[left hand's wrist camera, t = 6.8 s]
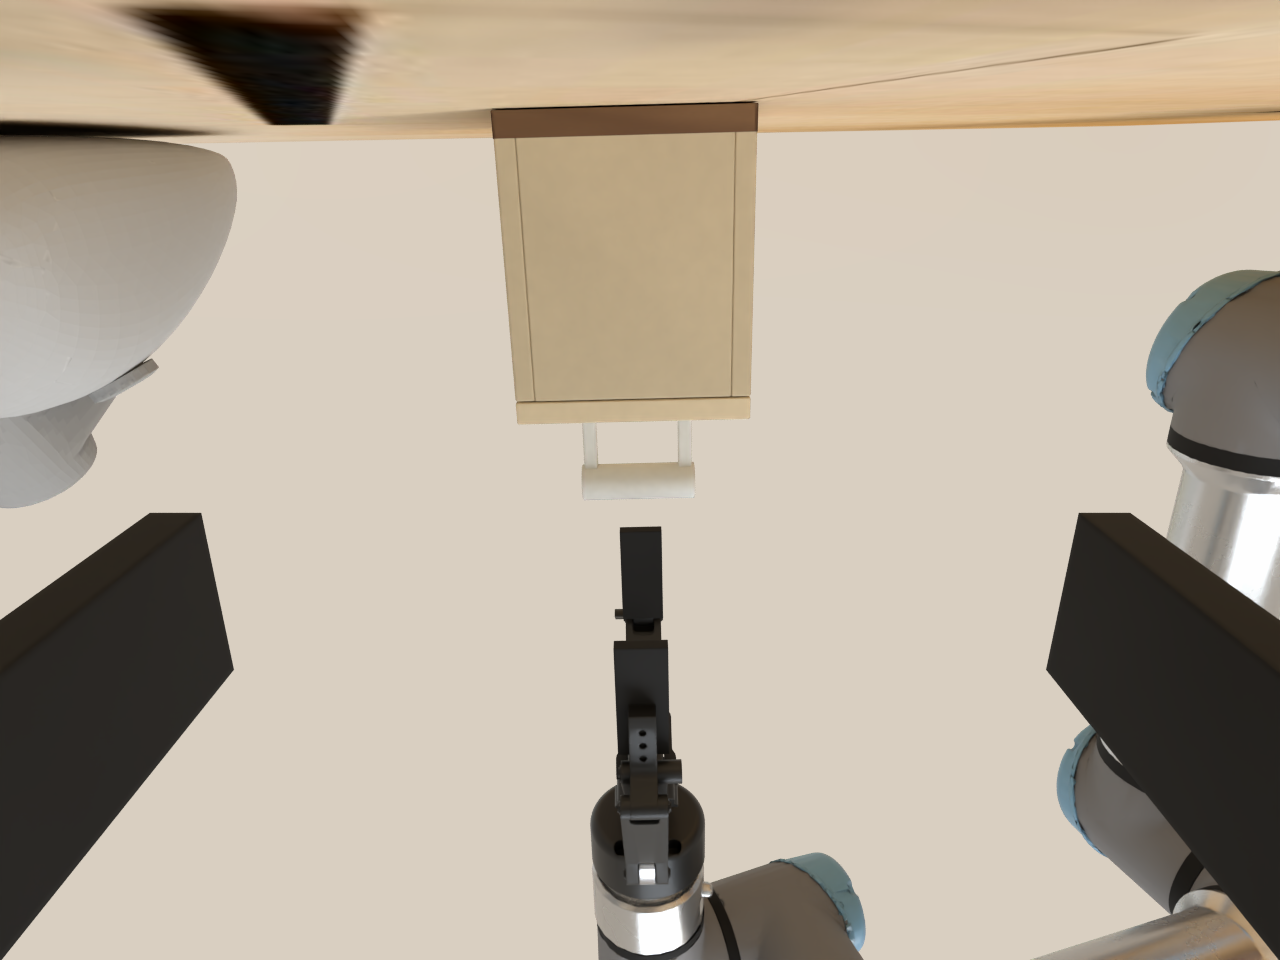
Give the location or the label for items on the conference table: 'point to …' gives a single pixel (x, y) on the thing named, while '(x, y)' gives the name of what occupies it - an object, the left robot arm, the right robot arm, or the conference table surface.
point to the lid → (635, 476)
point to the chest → (628, 249)
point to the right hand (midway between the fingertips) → (640, 578)
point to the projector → (93, 286)
